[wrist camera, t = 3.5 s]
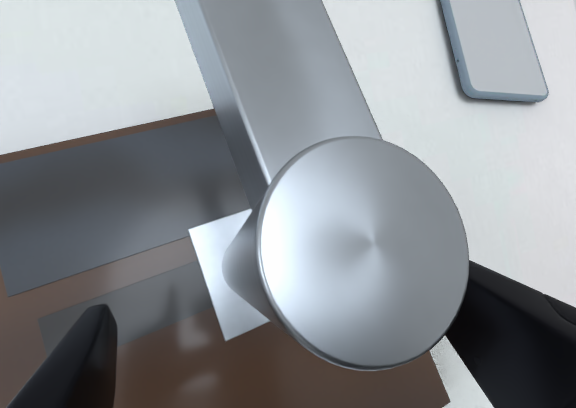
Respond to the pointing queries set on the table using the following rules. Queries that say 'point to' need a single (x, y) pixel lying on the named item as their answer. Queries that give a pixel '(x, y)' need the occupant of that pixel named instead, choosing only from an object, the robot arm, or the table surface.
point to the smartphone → (494, 50)
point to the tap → (319, 196)
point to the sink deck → (155, 277)
